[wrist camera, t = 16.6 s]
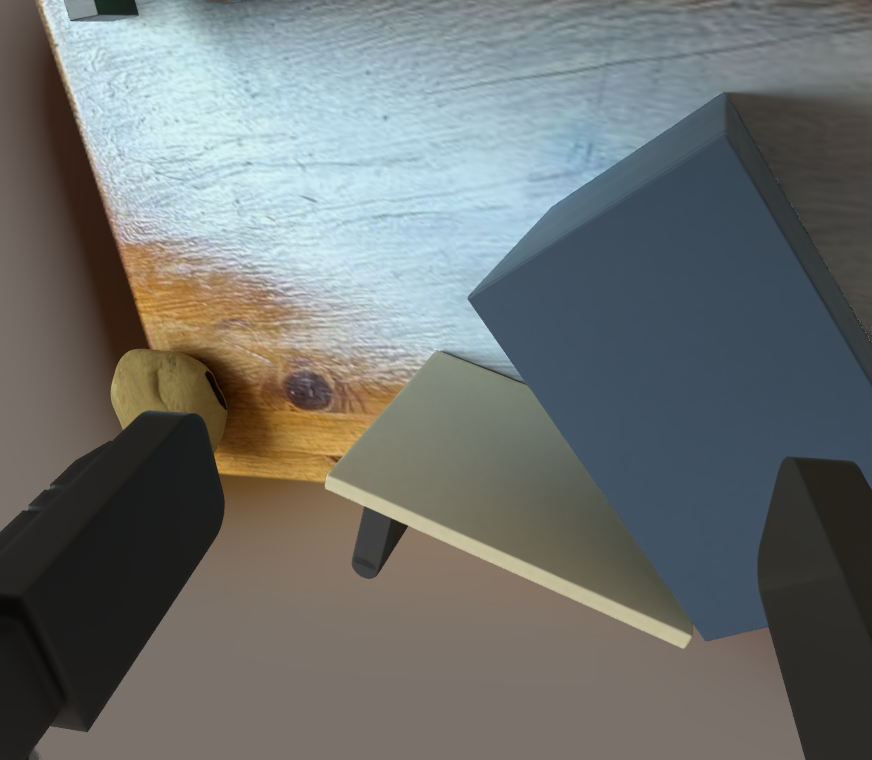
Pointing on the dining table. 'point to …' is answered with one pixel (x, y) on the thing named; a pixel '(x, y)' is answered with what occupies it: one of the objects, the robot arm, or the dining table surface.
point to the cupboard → (687, 351)
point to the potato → (168, 389)
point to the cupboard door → (497, 494)
